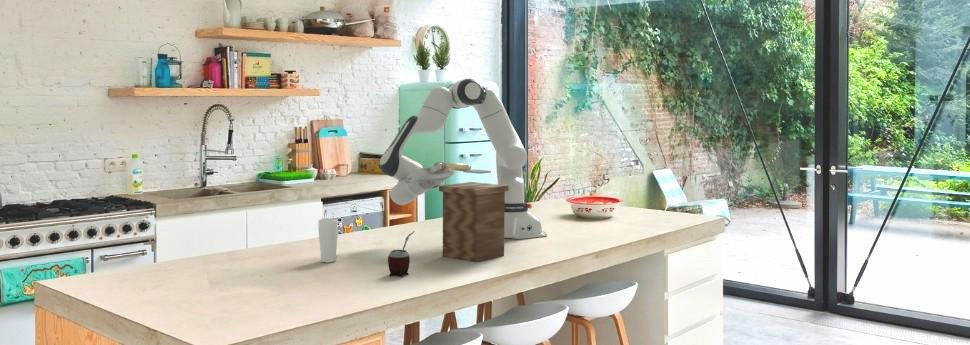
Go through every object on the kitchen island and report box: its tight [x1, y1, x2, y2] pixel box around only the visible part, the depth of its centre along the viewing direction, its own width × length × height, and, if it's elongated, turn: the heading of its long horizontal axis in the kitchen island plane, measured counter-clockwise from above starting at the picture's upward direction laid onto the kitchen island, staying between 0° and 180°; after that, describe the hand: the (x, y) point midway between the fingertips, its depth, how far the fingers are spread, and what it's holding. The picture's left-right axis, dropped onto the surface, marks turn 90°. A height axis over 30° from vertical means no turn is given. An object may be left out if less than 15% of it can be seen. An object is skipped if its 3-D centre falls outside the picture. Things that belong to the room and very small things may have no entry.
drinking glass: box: [317, 217, 339, 264], centre depth 308 cm, size 7×7×15 cm
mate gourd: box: [387, 230, 416, 278], centre depth 286 cm, size 8×8×15 cm
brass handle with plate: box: [433, 161, 492, 175], centre depth 321 cm, size 24×6×3 cm, turn 51°
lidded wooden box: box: [438, 181, 509, 263], centre depth 319 cm, size 18×18×26 cm
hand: (444, 164), depth 326 cm, fingers closed on brass handle with plate, 3 cm apart
